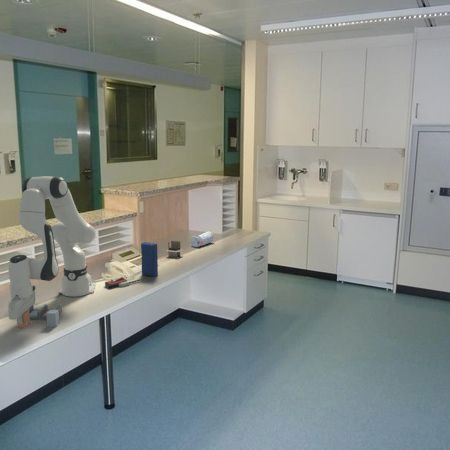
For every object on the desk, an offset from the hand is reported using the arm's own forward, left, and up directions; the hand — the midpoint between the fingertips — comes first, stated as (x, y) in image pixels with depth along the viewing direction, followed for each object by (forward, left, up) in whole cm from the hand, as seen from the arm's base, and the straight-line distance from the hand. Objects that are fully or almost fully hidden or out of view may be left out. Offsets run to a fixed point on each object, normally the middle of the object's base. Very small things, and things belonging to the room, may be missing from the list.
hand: (23, 320), depth 207 cm
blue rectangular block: (-77, +45, -2) cm, 89 cm away
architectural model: (-120, +56, -3) cm, 132 cm away
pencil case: (-155, +74, -3) cm, 172 cm away
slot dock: (-12, +4, -2) cm, 13 cm away
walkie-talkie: (-58, +32, -3) cm, 67 cm away
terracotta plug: (0, 0, -2) cm, 2 cm away
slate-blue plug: (-1, +13, -2) cm, 13 cm away
